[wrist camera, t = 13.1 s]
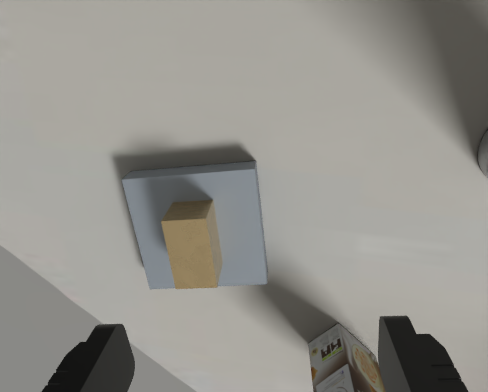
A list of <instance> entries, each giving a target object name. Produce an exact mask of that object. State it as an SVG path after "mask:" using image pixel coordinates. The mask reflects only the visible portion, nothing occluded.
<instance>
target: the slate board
mask: <svg viewBox="0 0 488 392" xmlns="http://www.w3.org/2000/svg"><path fill="white" fill-rule="evenodd" d="M122 183H123V187H124V191H125V195H126V199H127V203H128V206H129V210H130V214H131V218H132V222H133V226H134V230H135V233H136V237H137V241H138V245H139V249H140V253H141V257H142V261H143V264H144V268H145V272H146V276H147V280H148V284H149V288H150V289H167V288H175V284H174V279H173V275H172V270H171V265H170V261H169V256H168V251H167V247H166V242H165V237H164V233H163V228H162V224H161V220H162V219H163V217H164V216H165V214H166V212H167V211H168V209H169V208H170V206H171V204H172V203H173V202H186V201H201V200H213V201H214V207H215V214H216V221H217V227H218V234H219V241H220V247H221V254H222V261H223V265H222V269H221V273H220V278H219V282H218V286H236V285H259V284H267V274H268V270H267V260H266V250H265V241H264V231H263V222H262V212H261V203H260V193H259V184H258V174H257V165H256V161H248V162H236V163H224V164H213V165H201V166H189V167H177V168H165V169H153V170H141V171H131V172H129V173H128V174H127V175H126V176H125V177H124V178H123V179H122Z"/></svg>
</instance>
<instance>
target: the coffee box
mask: <svg viewBox="0 0 488 392" xmlns="http://www.w3.org/2000/svg"><path fill="white" fill-rule="evenodd" d="M309 354H310V364H311V372H312V382H313V391H314V392H386V391H385V388H384V384H383V381H382V378H381V374H380V369H379V365H378V362H377V359H376V357H375V356H374V355H373V354H372V353H371V352H370V351H369V350H368V349H367V348H366V347H365V346H363V345H362V344H361V343H360V342H359V341H358V340H357V339H356V338H355V337H354V336H352V335H351V334H350V333H349V332H348V331H347V330H346V329H345V328H344V327H342V326H341V325H340V324H337V325H335V326H334V327H332V328H331V329H329V330H328V331H326V332H325V333H323V334H322V335H320V336H319V337H317V338H316V339H314V340H313V341H311V342H310V343H309Z"/></svg>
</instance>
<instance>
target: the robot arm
mask: <svg viewBox="0 0 488 392" xmlns="http://www.w3.org/2000/svg"><path fill="white" fill-rule="evenodd" d="M478 161H479V165H480V168H481V170H482V172H483V173H484V174H485V175H486V176H487V177H488V130H487V132H486V133H485V135H484V136H483V139H482V141H481V143H480V146H479V150H478ZM378 362H379V369H380V374H381V378H382V381H383V384H384V388H385V391H386V392H468V390H467V388H466V386H465V385H464V383H463V382H462V381H461V377H460V375H459V373H458V372H457V370H456V368H454V364H453V362H452V360H451V359H450V357H449V355H448V353H447V351H446V349H445V348H444V347H443V346H442V345H441V344H440V343H439V342H438V341H437V340H436V339H435V338H433V337H432V336H431V335H430V334H416V332H415V330H414V328H413V326H412V323H411V321H410V319H409V318H408V317H407V316H381V317H380V319H379V341H378ZM134 369H135V361H134V357H133V353H132V350H131V347H130V344H129V340H128V337H127V334H126V330H125V328H124V326H123V325H122V324H102V325H97V326H96V327H95V328H94V330H93V331H92V333H91V335H90V336H89V338H88V339H87V341H86V342H80V343H79V344H78V345H77V346H76V347H74V348H73V349H72V350H71V351H70V352H69V353H68V354H67V355H66V356H65V357H64V359H63V360H62V362H61V364H60V365H59V367H58V368H57V369H56V373H54V374H53V376H52V377H51V379H50V380H49V382H48V385H47V386H45V388H44V389H43V391H42V392H127V391H128V389H129V386H130V384H131V382H132V379H133V376H134Z"/></svg>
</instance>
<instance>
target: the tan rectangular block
mask: <svg viewBox="0 0 488 392" xmlns="http://www.w3.org/2000/svg"><path fill="white" fill-rule="evenodd" d="M161 224H162V228H163V233H164V237H165V242H166V247H167V251H168V256H169V261H170V265H171V270H172V275H173V279H174V284H175V288H176V289H188V288H216V287H217V286H218V282H219V278H220V273H221V269H222V265H223V261H222V254H221V247H220V241H219V234H218V227H217V221H216V214H215V207H214V201H213V200H201V201H186V202H173V203H172V204H171V206H170V208H169V209H168V211H167V212H166V214H165V216H164V217H163V219H162V220H161Z"/></svg>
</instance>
